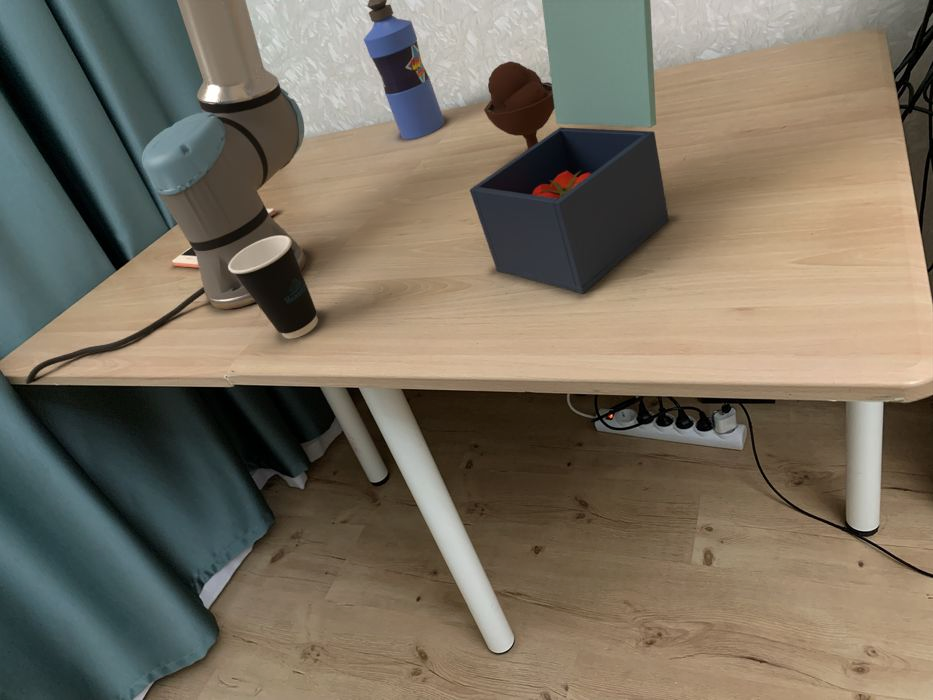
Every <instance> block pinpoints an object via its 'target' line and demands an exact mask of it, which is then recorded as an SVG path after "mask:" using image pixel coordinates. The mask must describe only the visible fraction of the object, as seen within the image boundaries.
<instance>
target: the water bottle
mask: <svg viewBox="0 0 933 700" xmlns="http://www.w3.org/2000/svg"><path fill="white" fill-rule="evenodd" d="M387 2H388V0H368V2H367V8H368V9H370V11H369V12H368V15H369V18H370V20H371V23H373V24H372V28H371V29H370V30H369V31H368V33H367V34H366V35H365V37H364V38H363V41H364V44H365V47H366V49H367V53H368V55H369V57H370V58H371V60H372V62H373V63H374V66H375V67H376V70H377V72H378V74H379V76H380V78H381V81H382V85H383V90H384V94H385V98H386V99H387V102H388V106H389V108H390V110H391V113H392V116H393V119H394V121H395V124H396V127H397V130H398V132H399V135H400V137H401V139H403V140H414V139H418V138H422V137H425V136H427V135H430V134H432V133H434V132H436V131H437V130H438V129H440V128H442V126H443V125H444V124H445V119H444V116H443V113H442V110H441V107H440V104H439V101H438V98H437V95H436V93H435V92H436V91H435V89H434V87H433V84H432V80H431V78H430V76H429V74H428V72H427V70H426V67H425V66H424V64H423V62H422V57H421V53H420V49H419V44H418V37H417V34H416V31H415V29H414V25H413V23H412V20H408V19H402V18H397V17H396V16H395V15H394V11H393V8H392V5H391V3H389V4H387Z"/></svg>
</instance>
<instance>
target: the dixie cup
mask: <svg viewBox="0 0 933 700" xmlns="http://www.w3.org/2000/svg"><path fill="white" fill-rule="evenodd" d="M291 243H292V242H291V239H290V238H289V237H287V236H283V235H279V236H272V237H268V238H265V239H262V240H260V241H257V242H255V243H253V244H251V245H249V246H248V247H246V248H244V249H243V250H241V251H240V252H239V253H237V254H236V255H235V256H234V257H233V258H232V260H231V261H230V263H229V265H228V268H229V271H230V272H232V273H234V274H235V275H236V276H237V278H238V279H239V280H240V282H241V283H242V284H243V286H244V287H245V288H246V290H247V291H248V292H249V294H250V295H251V296H252V298H253V299H254V300H255V302H254V303H255V304H256V305H257V306H258V307H259V308H260V310H261V311H262V312H263V314H264V315H265V317H266V318H267V319H268V320H269V322H270V323H271V325H272V326H273V327H274V328H275V330H276V331H277V332H278V333H280V334H281V335H282V336H283V338H285V339H290V340H291V339H297V338H300V337H303V336H304V335H306V334H308V333H309V332H311V331H312V330H313V329H314V328H315V327H317V324H318V322H319V319H318V316H317V313H318V311H317V308H316V305H315V303H314V301H313V298H312V296H311V293H310V291H309V288H308V286H307V283H306V280H305V277H304V275H303V273H302V270H300V267H299V265H298V262H297V260H296V257H295V254H294V252H293V249H292V247H291Z"/></svg>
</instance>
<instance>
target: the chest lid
mask: <svg viewBox="0 0 933 700" xmlns="http://www.w3.org/2000/svg"><path fill="white" fill-rule="evenodd" d="M541 4H542V13H543V20H544V21H543V22H544V29H545V38H546V47H547V56H548V63H549V72H550V73H549V74H550V81H551V82H550V83H551V84H552V90H553V99H554V114H555V116H554V117H555V122H556V124H557V125H577V126H579V125H581V126H601V127H602V126H605V127H607V126H608V127H629V128H630V127H631V128H632V127H633V128H653V127H655V126H657V109H656V88H655V71H654V70H655V68H654V48H653V47H654V46H653V45H654V44H653V28H652V25H653V24H652V9H651V8H652V7H651V5H652V4H651V0H541Z"/></svg>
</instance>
